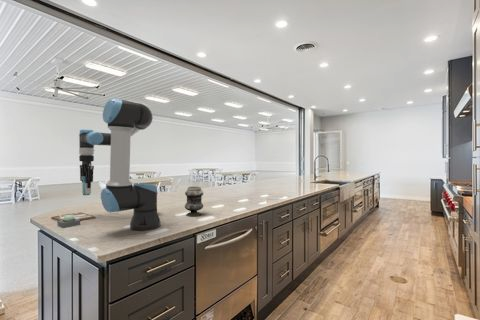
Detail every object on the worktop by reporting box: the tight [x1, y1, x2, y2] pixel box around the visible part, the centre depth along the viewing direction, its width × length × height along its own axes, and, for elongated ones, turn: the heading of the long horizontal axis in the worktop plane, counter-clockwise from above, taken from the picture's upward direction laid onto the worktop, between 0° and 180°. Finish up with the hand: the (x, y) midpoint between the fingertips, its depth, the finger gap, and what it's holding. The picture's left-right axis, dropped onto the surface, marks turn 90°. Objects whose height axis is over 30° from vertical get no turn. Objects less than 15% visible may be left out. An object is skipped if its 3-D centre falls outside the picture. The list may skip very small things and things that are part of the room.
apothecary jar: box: [184, 186, 204, 217], centre depth 159 cm, size 12×12×18 cm
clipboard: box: [51, 212, 96, 222], centre depth 149 cm, size 20×16×2 cm
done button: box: [64, 215, 74, 222], centre depth 133 cm, size 4×4×3 cm
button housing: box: [56, 218, 81, 229], centre depth 133 cm, size 8×8×2 cm
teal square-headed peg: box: [81, 176, 91, 196], centre depth 150 cm, size 4×4×11 cm
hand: (86, 193), depth 150 cm, fingers closed on teal square-headed peg, 4 cm apart
